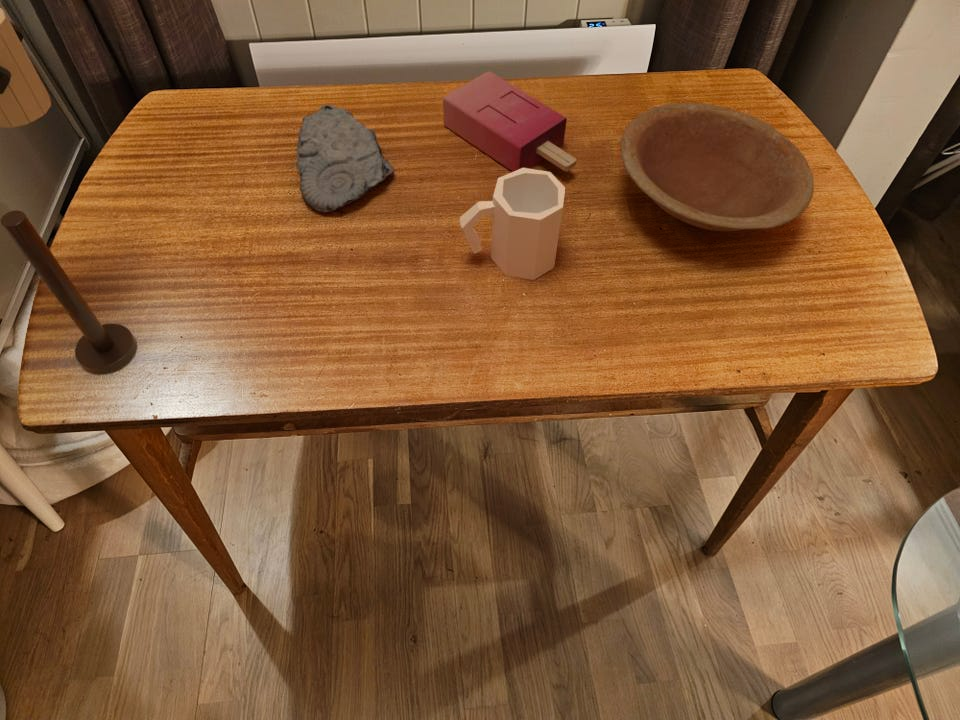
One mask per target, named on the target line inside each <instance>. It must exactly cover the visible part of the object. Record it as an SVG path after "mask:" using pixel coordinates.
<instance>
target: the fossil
mask: <svg viewBox="0 0 960 720" xmlns="http://www.w3.org/2000/svg"><path fill="white" fill-rule="evenodd" d="M377 138H378V137H377V134H376V132H375V131H374V130H373V129H370V128H368V127H367V126H365V125H364V124H363V123H361V122H360V121H359V120H358V119H356V118H355V116H354V115H353V114H352V113H350V112H349V111H348V110H347V109H345V108H343V107H339V106H335V105H328V104H322V105H321V107H320V108H319V109H318V110H317V111H316V112H314V113H311V114H308V115H307V116H304V117H302V124H301V126H300V128H299V131H298V135H297V145H296V159H297V161H296V163H295V165H296V169H297V171H298V173H299V174H300V183H299V191H300V193H301V196H302V199H303V200H304V201H305V203H306V204H307V205H308V206H310V207H311V208H312V209H314V210H315V211H318V212H324V213H328V212H333V211H336V210H338V209H341V208H343V207H345V206H346V205H348V204H350V203H352V202H354V201H356V200H358V199H360V198H361V197H362V196H364V195H365V194H366V193H368V192H369V190H370V189H373V187H376V186H377V185H379V184H380V183H382V182H383V181H384V180H385V179H386V178H387V177H388V176H390V175H391V174H392V173H393V172H395V171H394V169H395V167H394V166H393V165H391V163H390V161H389V160H388V159H386V158H385V156H384V154H383V153H382V147H381V145H380V144H379V143H378V141H377Z"/></svg>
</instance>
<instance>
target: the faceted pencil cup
mask: <svg viewBox="0 0 960 720" xmlns="http://www.w3.org/2000/svg"><path fill="white" fill-rule="evenodd" d="M10 21H11V20H10V19H9V18H8V16H7V13H6V12H5V10H4V8H3V7H2V8H1V7H0V66H1V67H3V68H5V69H7V70H8V71H9V72H10V73H11V79H10V82H9V84H8V86H7V88H6V89H5V91H4V93H3V94H0V128H6V129H11V128H17V127H23V126H26V125H30V124H31V123H33V122H35V121H37V120H38V119H40V118H41V117H43V116H44V115H46V114H47V112H48V111H49V110H50V108H51V107H52V101H51V97H50V94H49V92H48V91H47V89H46V87H45V85H44V83H43V81H42V79H41V78H40V76H39V73H38V71H37V70H36V68H35V66H34V64H33V62H32V61H31V59H30V57H29V55H28V53H27V51H26V50H25V48H24V46H23V43H22V42H20V40H19V38H18V36H17V34H16V32H15V31H14V29H13V27H12V25H11V23H10Z"/></svg>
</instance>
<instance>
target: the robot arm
mask: <svg viewBox="0 0 960 720" xmlns="http://www.w3.org/2000/svg"><path fill="white" fill-rule="evenodd" d="M9 21H10V23H11V25H12V27H13V29H14V31H15V32H16V34H17V36H18V38H19V40H20V42H21V43H22V42H23V40H24V37H25V31H24V29H23V28H22V27H20V26H19V25H17V24H15V23H13V22H12V21H11V20H9ZM10 79H11V73H10V72H9V71H8V70H7V69H5V68H3V67H1V66H0V94H3V93H4V91H5V89H6V88H7V86H8V84H9V82H10Z"/></svg>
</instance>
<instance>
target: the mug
mask: <svg viewBox="0 0 960 720" xmlns="http://www.w3.org/2000/svg"><path fill="white" fill-rule="evenodd" d="M565 194H566V187H565V186H564V185H563V184H562V182H561V181H560V180H559V179H558V178H557V177H556V176H555V175H554V174H553V173H552V172H551V171H547V170H546V171H545V170H540V169H535V168H530V169H528V168H521V169H519V170H516V171H514V172H513V171H511V172H509V173H507V174H504V175H502V176H500V177H498V178H497V180H496V184H495V188H494V191H493V194H492V200H482V201H479V200H478V201H477V202H476V203H475V204H474V205H472V206H471V207H470V208H469V209H468V210H467V211H466V212H464V213H463V214H462V215H461V216H460V217H459V225H460V227H461V230H462V233H463V234H464V236H465V238H466V240H467V243H468V245H469V247H470V249H471V251H472V253H473V254H477V253H479V252H482V250H483V249H482V243H481V240H480V237H479V236H478V233H477V232H476V230H475V228H474V227H475V226H476V225H477V224H478V223H479V221H481V219H482V218H484V217H485V216H490V215H491V235H490V236H491V238H490V240H491V241H490V260H492V261H493V262H494V264H495V266H497V268H498V269H499V270H500V271H501V273H503V275H504V276H506V277H511V278H518V279H524V280H530V281H534V280H536V279H538V278H540V277H541V276H543V275H544V274H546V273H548V272H549V271H551V270H552V269H554V268H555V265H556V264H555V263H556V256H557V250H558V245H559V237H560V231H561V223H562V216H563V210H564V201H565Z"/></svg>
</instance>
